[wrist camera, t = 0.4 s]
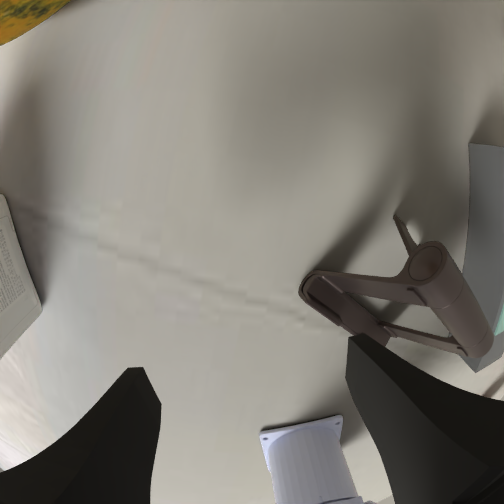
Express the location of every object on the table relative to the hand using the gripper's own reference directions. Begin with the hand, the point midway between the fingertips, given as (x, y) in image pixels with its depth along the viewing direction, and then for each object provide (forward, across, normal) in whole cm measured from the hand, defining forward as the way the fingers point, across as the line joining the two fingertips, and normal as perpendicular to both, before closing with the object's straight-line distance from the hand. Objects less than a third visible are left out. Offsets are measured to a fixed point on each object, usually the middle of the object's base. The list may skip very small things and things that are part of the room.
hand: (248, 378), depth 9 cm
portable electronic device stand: (+9, -9, +2) cm, 13 cm away
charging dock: (+9, -20, +2) cm, 22 cm away
